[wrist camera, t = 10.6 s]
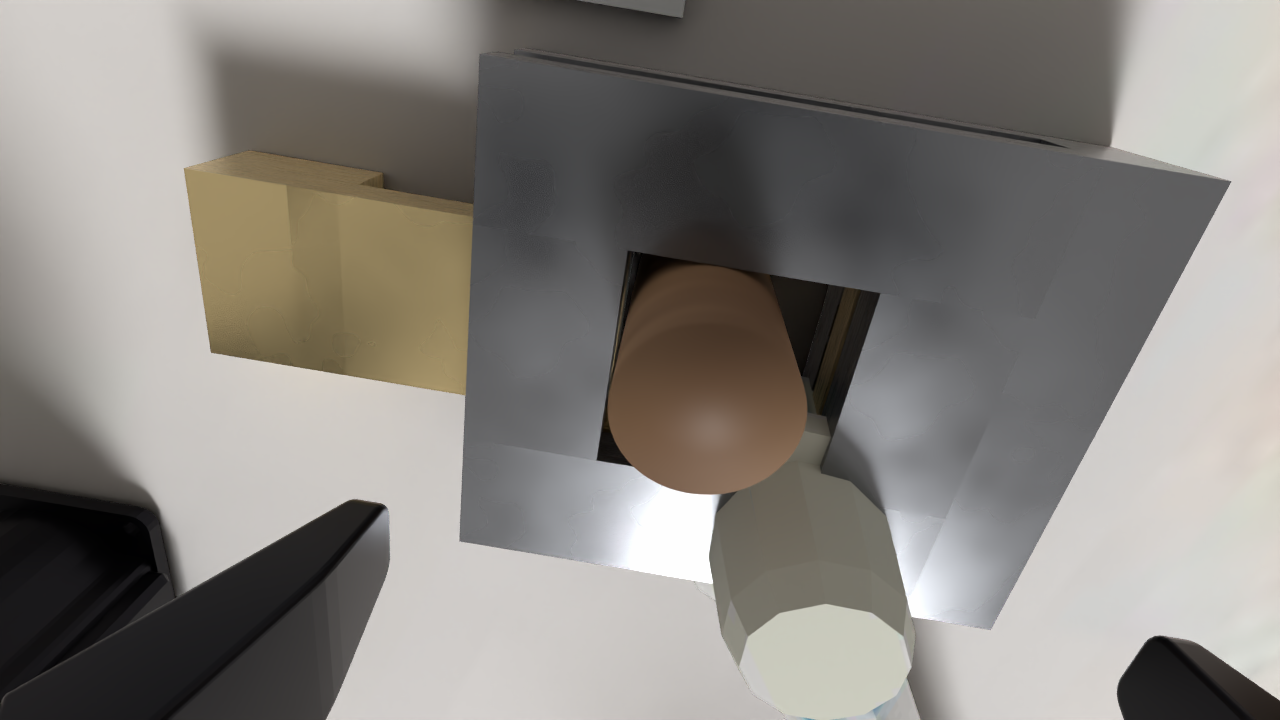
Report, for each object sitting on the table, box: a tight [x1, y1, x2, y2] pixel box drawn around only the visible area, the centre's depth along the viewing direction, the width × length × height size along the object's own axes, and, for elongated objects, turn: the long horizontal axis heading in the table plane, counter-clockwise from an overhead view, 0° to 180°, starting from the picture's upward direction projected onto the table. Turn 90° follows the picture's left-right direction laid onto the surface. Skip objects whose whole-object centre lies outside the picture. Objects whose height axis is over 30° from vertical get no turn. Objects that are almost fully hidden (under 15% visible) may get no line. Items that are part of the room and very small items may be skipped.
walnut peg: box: [608, 253, 807, 495], centre depth 13 cm, size 3×3×6 cm
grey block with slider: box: [184, 48, 1231, 630], centre depth 14 cm, size 18×10×3 cm, turn 82°
